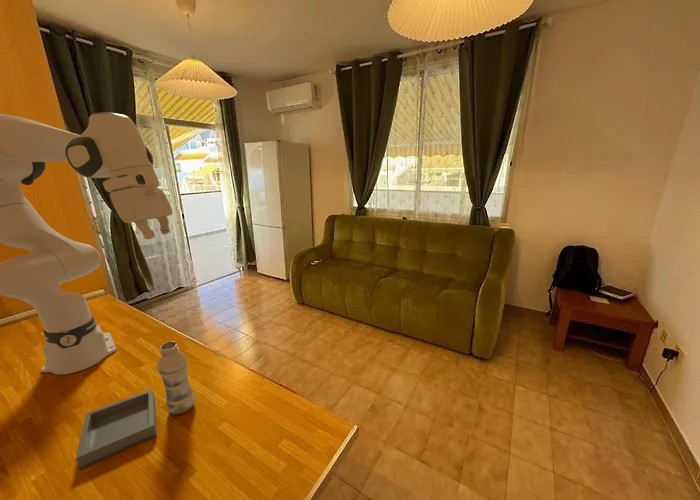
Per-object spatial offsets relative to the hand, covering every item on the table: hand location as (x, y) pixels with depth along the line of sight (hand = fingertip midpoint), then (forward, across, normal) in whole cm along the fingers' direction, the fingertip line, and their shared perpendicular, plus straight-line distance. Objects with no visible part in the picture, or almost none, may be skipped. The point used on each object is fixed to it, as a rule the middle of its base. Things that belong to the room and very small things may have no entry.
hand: (159, 235), depth 73 cm
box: (+44, +9, -21) cm, 50 cm away
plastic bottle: (+46, +5, -9) cm, 48 cm away
